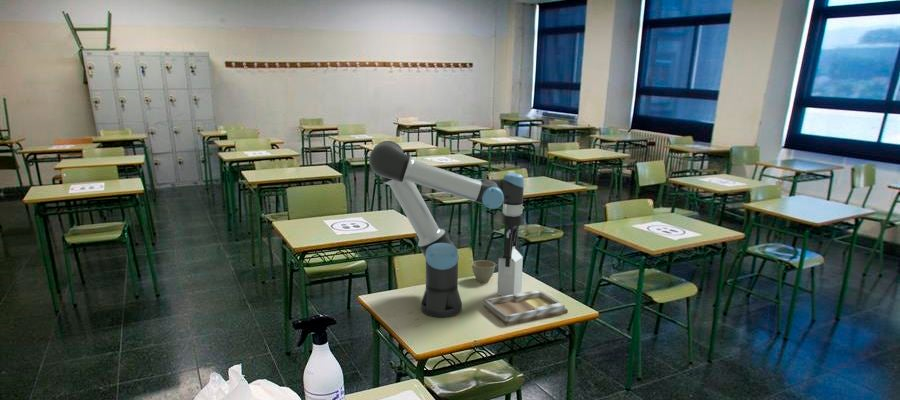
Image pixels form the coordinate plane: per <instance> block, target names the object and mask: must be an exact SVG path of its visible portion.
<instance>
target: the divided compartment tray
mask: <svg viewBox="0 0 900 400" xmlns="http://www.w3.org/2000/svg"><path fill="white" fill-rule="evenodd" d="M565 306H566V305H565V304H563V303H562V302H561V301H559V300H558V299H556V298H555V297H552V296H550V295H549V294H547V293H546V292H544V291H542V290H540V289H536V290H535V289H534V290H529V291H525V292H521V293H518V294H513V295H507V296H502V295H501V296H498V297H497V296H496V297H491V298H486V299H484V303H483V309H484V310H486V311H487V312H488V313H489V314H491V315H492V316H493V317H494V318H496V319H497V320H498V321H499V322H500V323H503V325H505V326H510V325H514V324H515V325H516V324H521V323H524V322H525V323H526V322H529V321H530V322H531V321H535V320H539V319H543V318H549V317H553V316H558V315H563V314H568V313H569V312H568V311H569V310H568V309H567V308H566V307H565Z"/></svg>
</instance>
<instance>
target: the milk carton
mask: <svg viewBox="0 0 900 400" xmlns="http://www.w3.org/2000/svg"><path fill="white" fill-rule="evenodd" d="M503 254H504V251H503V252H502V255H503ZM511 258H512V271H511V275H507V274H504V261H505V258H502V256H500V257H499V258H498V270H497V294H496V295H498V296H501V297H502V296H507V295H513V294H518V293H522V282H523V263H524V262H523V260H524V259H523V258H524V257H523V255H522V254H521V253H520V251H517V250H516V249H515V246H513V248H512V255H511Z"/></svg>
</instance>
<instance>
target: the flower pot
mask: <svg viewBox="0 0 900 400" xmlns="http://www.w3.org/2000/svg"><path fill="white" fill-rule="evenodd" d="M471 268H472V273H473V275H474V277H475V279H476V281H477V282H480V283H486V282H489V281H490V280H491V278H492V276H493V274H494V272H495V268H496V263H495V262H493V261H490V260H481V259H480V260H474V261H472V262H471Z"/></svg>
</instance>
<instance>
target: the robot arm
mask: <svg viewBox="0 0 900 400" xmlns="http://www.w3.org/2000/svg"><path fill="white" fill-rule="evenodd" d="M368 157H369V159H368V161H369V162H368V164H369V166H370V169H371V171H372V172H374V173H375V175H377V176H379V178H380V179H381V181H382V184H385V185H388V186H389V187H390V189H391V190H392V192H393V194H394V196H395V199H396V200H397V202H398V203H399V205H400V207H401V208H402V210H403V212H404V214H405V216H406V217H407V220H408V221H409V223H410V225H411V226H412V228H413V231H414V232H415V234H416V235H417V237H418V241H417V242H418V244H417V246H418V247H419V249H420V251H421V253H422V255H423V256H424V259H425V290H424V292H423V295H422V298H421V302H420V311H421V312H423V314H425V315H428V316H430V317H434V318H447V317H448V318H449V317H454V316H456V315H458V314H460V313H461V312H462V310H463V302H462V299H461V295H460V292H459V287H458V283H459V282H458V281H459V279H458V278H459V277H458V276H459V274H458V273H459V259H460V256H459V250H458V248H457V247H456V246H455V244H454V242H453V241H452V240H451V239H450V238H449V236H448V234H447V232H446V230H445V229H443V228H439V225H438V224H437V222H436V220H435V219H434V216H433V215H432V213H431V211H430V209H429V208H428V206H427V204H426V201H425V200H424V198H423V196H422V195H421V192H420V190H419V189H418V187H417V186H416V185H419V186H423V187H426V188H430V189H432V190H436V191H439V192H443V193H445V194H450V195H452V196H456V197H458V198H462V199H465V200H469V201H472V202H475V203H477V204H481V205H483V206H485V207H486V208H488V209H491V210H496V209H498V208H500V207H501V206H502V221H501V222H502V224H503V225H504V226H507V227H506V229H505V232H504V243H503V244H504V245H503V252H504V254H503V253H502V255H501V257H502V258H505V261H504V274H507V275H511V271H512V258H511V255H512V248H513V246H515V249H516V250H517V251H518V252H520V248H519V229H520V226H521V225H522V224H523V210H524V209H525V206H523V205H524V191H525V190H524V187H525V186H524V185H525V182H524V176H523V175H522V174H520V173H514V172H512V173H510V172H509V173H505V174H504V175H503V177H502V178H500V179H494V178H493V179H492V178H491V179H490V178H488V179H487V178H484V179H483V178H479V179H478V178H477V179H475V178H471V177H468V176H466V175H462V174H458V173H456V172H452V171H449V170H447V169H443V168H440V167H436V166H433V165H431V164H427V163H424V162H421V161H419V160H415V159H413V157H412V156H411V155H408V154H406V153H404V150H403V148H402V147H401V145H399V143H396V142H395V141H392V140H384V141H381V142H378V143H377V144H376V145H375V146H374V147H373V149H372V150H371V152H370V153H369V156H368Z"/></svg>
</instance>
